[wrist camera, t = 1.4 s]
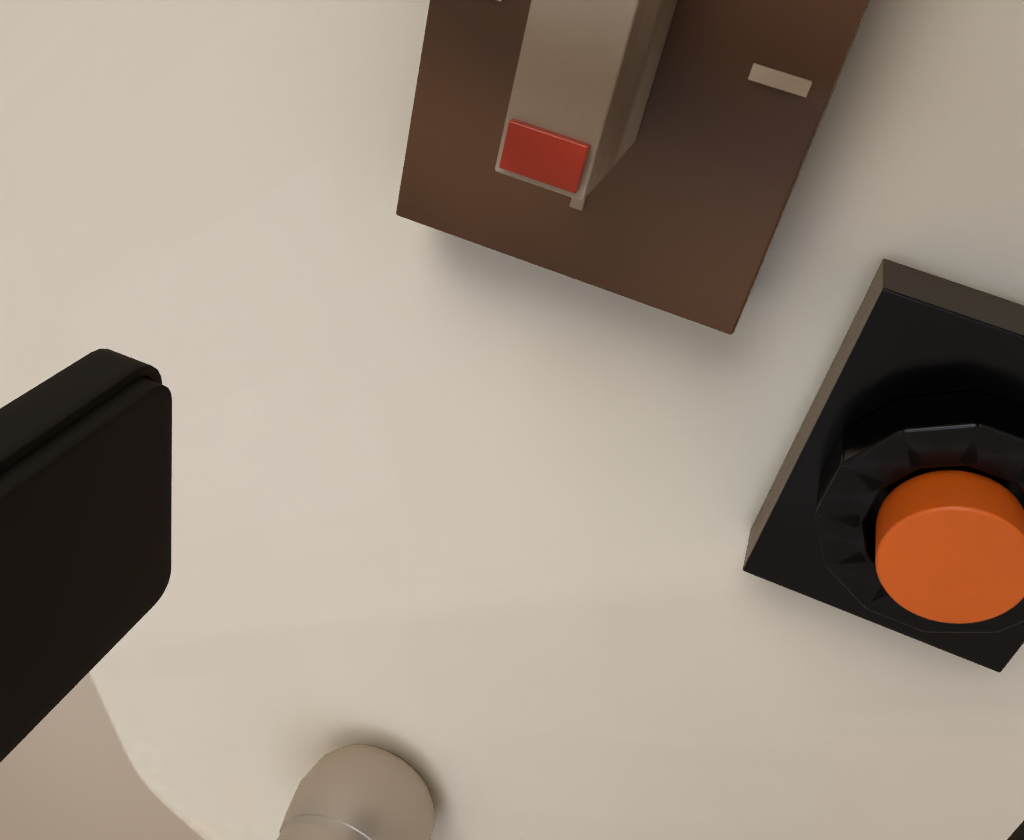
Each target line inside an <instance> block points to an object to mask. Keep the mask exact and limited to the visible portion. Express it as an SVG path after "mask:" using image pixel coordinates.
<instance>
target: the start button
mask: <svg viewBox="0 0 1024 840" xmlns="http://www.w3.org/2000/svg"><path fill="white" fill-rule="evenodd" d="M875 564H876V571H877V575H878V578H879V580H880V583H881V584H882V586H883V588H884V589H885V590H886V592H887V593H888V594H889V595H890V597H891V598H892V599H893V600H895V601H896V602H897V603H898V604H899V605H901V606H902V607H903V608H905V609H907V610H908V611H910V612H912V613H914V614H916V615H918V616H921V617H924V618H927V619H929V620H934V621H938V622H944V623H957V624H962V623H974V622H980V621H984V620H988V619H991V618H994V617H997V616H999V615H1001V614H1003V613H1005V612H1007V611H1008V610H1010V609H1011V608H1013V607H1014V606H1015V605H1017V604H1018V603H1019V602H1020V601H1021V600H1022V599H1023V598H1024V509H1023V507H1022V506H1021V504H1020V502H1019V501H1018V500H1017V498H1016V497H1015V496H1014V495H1013V494H1012V493H1011V492H1010V491H1009V490H1008V489H1006V488H1005V487H1004V486H1002V485H1001V484H999V483H997V482H996V481H994V480H992V479H990V478H987V477H985V476H983V475H979V474H976V473H972V472H967V471H959V470H941V471H933V472H928V473H924V474H921V475H918V476H915V477H913V478H911V479H909V480H907V481H905V482H903V483H902V484H900V485H899V486H898V487H896V488H895V489H894V490H893V491H892V492H891V493H890V494H889V495H888V496H887V497H886V499H885V500H884V501H883V503H882V505H881V507H880V509H879V511H878V515H877V519H876V546H875Z"/></svg>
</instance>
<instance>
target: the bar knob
mask: <svg viewBox="0 0 1024 840" xmlns="http://www.w3.org/2000/svg"><path fill="white" fill-rule="evenodd" d="M677 1H678V0H532V1H531V5H530V10H529V15H528V19H527V24H526V28H525V33H524V38H523V42H522V47H521V52H520V56H519V61H518V65H517V70H516V75H515V79H514V84H513V88H512V93H511V98H510V102H509V107H508V111H507V116H506V121H505V125H504V130H503V134H502V139H501V144H500V148H499V153H498V157H497V162H496V167H495V171H497V172H499V173H502V174H505V175H508V176H511V177H514V178H517V179H519V180H522V181H525V182H528V183H531V184H534V185H537V186H540V187H543V188H546V189H548V190H551V191H554V192H557V193H560V194H563V195H566V196H569V197H572V198H575V199H578V200H580V201H583V200H584V199H585V198H586V197H587V196H588V194H589V193H590V192H591V191H592V190H593V189H594V188H595V186H596V185H597V184H598V183H599V182H600V181H601V180H602V179H603V177H604V176H605V175H606V174H607V173H608V172H609V171H610V169H611V168H612V167H613V166H614V165H615V164H616V163H617V161H618V160H619V159H620V158H621V157H622V156H623V155H624V154H625V152H626V151H627V150H628V149H629V148H630V147H631V146H632V144H633V143H634V142H635V141H636V138H637V134H638V131H639V128H640V124H641V121H642V118H643V114H644V111H645V108H646V104H647V101H648V98H649V94H650V91H651V88H652V84H653V81H654V78H655V74H656V71H657V68H658V64H659V61H660V58H661V54H662V51H663V48H664V44H665V41H666V38H667V34H668V31H669V28H670V24H671V21H672V18H673V15H674V11H675V8H676V5H677Z"/></svg>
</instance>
